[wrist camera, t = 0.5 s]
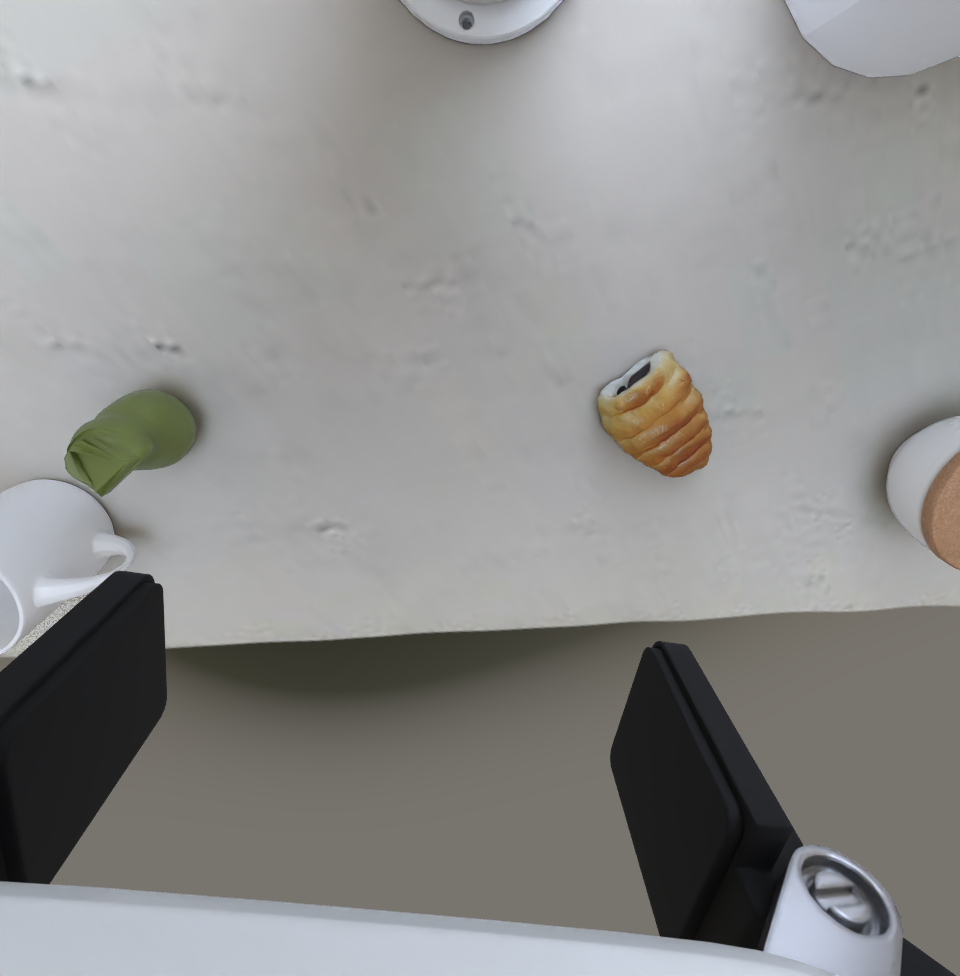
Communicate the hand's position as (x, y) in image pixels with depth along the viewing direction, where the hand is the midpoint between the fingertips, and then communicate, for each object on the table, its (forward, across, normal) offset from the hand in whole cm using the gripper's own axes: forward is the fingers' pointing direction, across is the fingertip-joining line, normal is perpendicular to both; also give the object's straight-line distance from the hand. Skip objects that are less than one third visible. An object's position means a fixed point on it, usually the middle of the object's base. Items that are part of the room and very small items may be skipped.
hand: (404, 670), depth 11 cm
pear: (+32, +20, +7) cm, 38 cm away
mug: (+33, +26, +17) cm, 45 cm away
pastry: (+32, -15, 0) cm, 36 cm away
